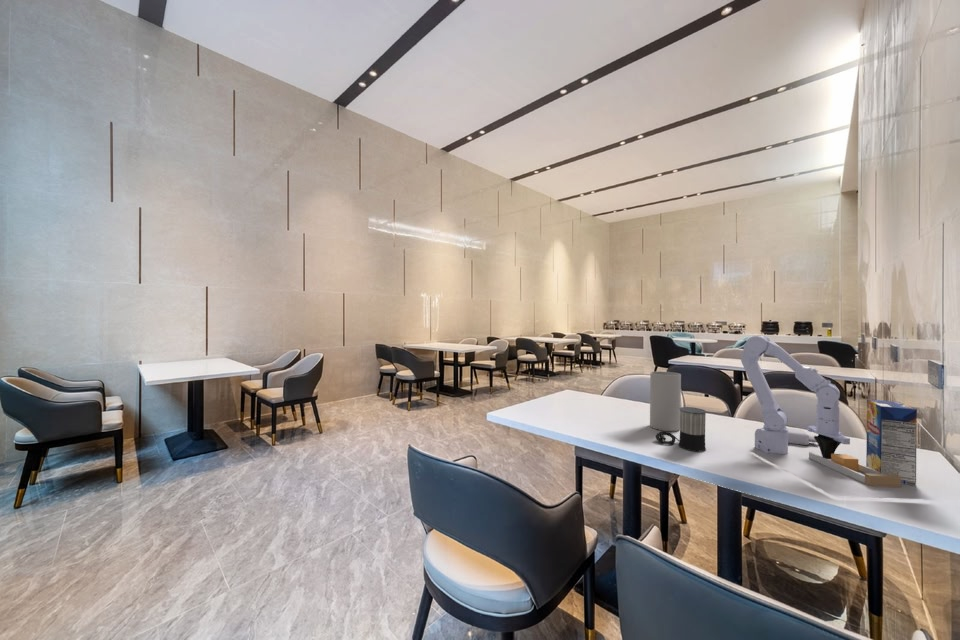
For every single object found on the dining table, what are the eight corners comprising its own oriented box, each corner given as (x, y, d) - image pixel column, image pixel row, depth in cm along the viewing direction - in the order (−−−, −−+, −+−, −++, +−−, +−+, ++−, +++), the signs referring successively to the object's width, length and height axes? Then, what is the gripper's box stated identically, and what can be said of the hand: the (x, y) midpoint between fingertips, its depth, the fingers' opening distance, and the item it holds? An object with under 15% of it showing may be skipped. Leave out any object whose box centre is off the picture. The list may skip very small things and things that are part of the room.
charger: (827, 449, 143) (778, 442, 150) (819, 442, 151) (773, 436, 158) (827, 436, 143) (778, 431, 150) (819, 430, 151) (773, 425, 158)
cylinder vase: (670, 423, 175) (670, 371, 175) (686, 431, 163) (687, 375, 163) (644, 424, 174) (645, 371, 174) (659, 432, 162) (659, 375, 162)
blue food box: (866, 471, 123) (866, 399, 123) (898, 476, 119) (899, 402, 119) (880, 484, 112) (880, 406, 112) (916, 490, 108) (916, 409, 108)
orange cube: (843, 471, 119) (843, 458, 119) (831, 465, 123) (831, 453, 123) (858, 471, 118) (858, 459, 118) (845, 466, 123) (845, 454, 123)
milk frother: (711, 452, 138) (711, 412, 138) (669, 451, 138) (669, 412, 138) (690, 439, 152) (690, 404, 152) (652, 439, 152) (652, 403, 152)
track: (869, 489, 108) (869, 475, 108) (808, 460, 130) (808, 449, 130) (900, 490, 108) (900, 476, 108) (833, 461, 130) (833, 450, 130)
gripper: (860, 425, 120) (859, 467, 120) (822, 414, 134) (821, 451, 134) (837, 424, 120) (836, 466, 120) (801, 413, 135) (801, 450, 135)
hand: (827, 458), depth 127 cm, fingers closed
